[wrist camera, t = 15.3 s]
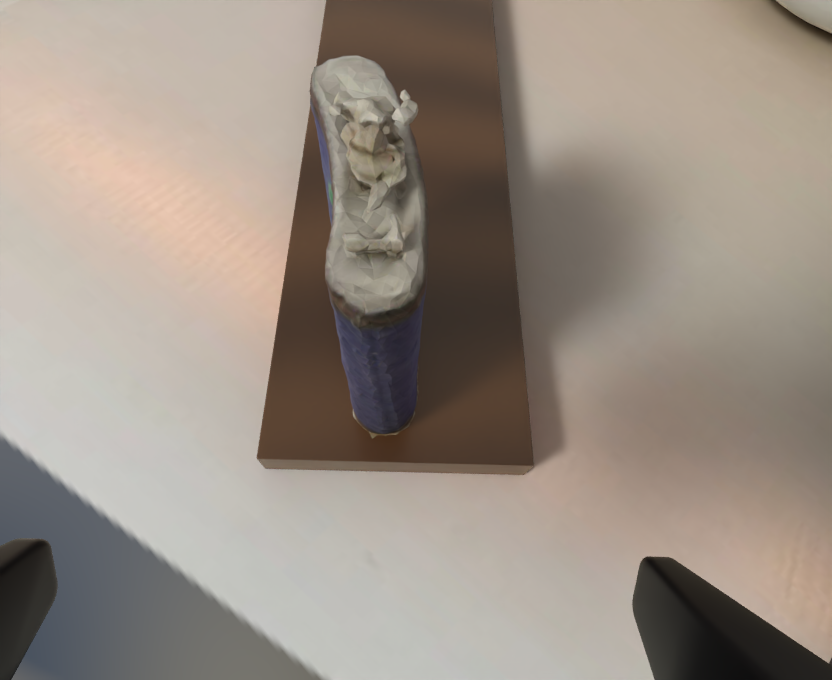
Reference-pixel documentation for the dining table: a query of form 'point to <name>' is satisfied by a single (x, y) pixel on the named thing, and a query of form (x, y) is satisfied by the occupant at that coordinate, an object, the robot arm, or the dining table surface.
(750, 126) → the dining table surface
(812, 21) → the serving bowl
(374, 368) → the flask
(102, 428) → the dining table surface
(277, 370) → the board
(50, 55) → the dining table surface
